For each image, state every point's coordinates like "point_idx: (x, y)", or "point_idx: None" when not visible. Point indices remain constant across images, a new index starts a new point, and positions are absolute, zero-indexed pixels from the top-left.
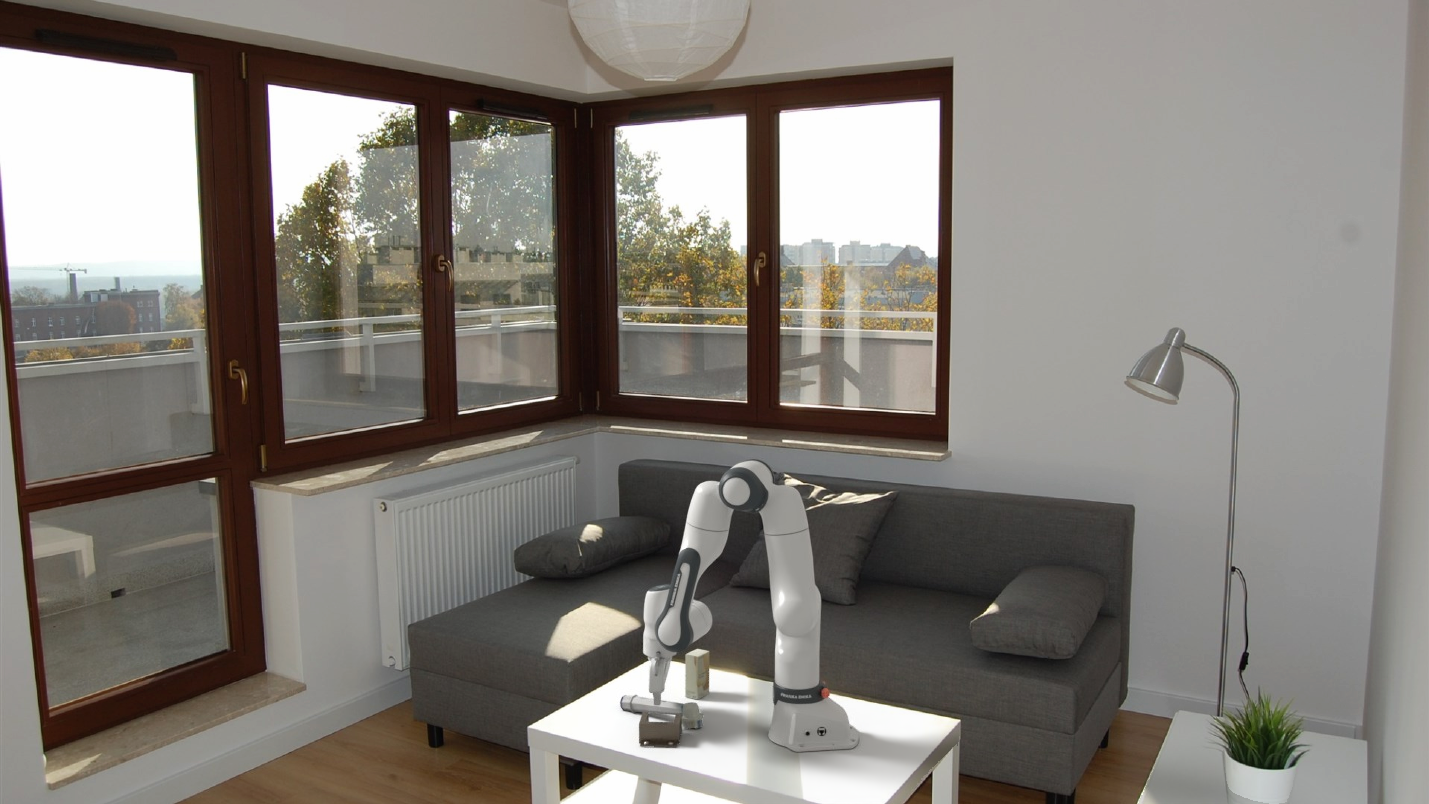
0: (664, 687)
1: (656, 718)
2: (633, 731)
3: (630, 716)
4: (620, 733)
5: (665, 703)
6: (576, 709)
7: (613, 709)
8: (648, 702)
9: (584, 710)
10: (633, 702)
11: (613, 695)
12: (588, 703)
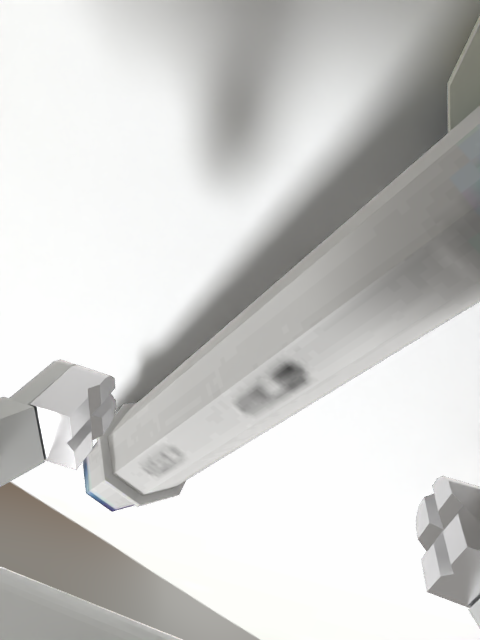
0: (54, 377)
1: None
2: None
3: (238, 448)
4: None
5: (338, 374)
6: (155, 564)
7: None
8: (227, 447)
9: (164, 551)
10: (179, 483)
11: None
12: (99, 526)
